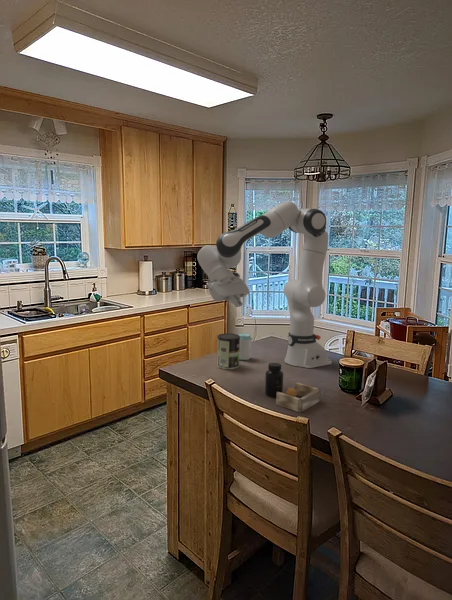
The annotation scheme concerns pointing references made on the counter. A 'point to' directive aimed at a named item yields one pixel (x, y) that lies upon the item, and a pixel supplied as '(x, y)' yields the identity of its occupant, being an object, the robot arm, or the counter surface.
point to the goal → (299, 404)
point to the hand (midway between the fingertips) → (239, 306)
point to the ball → (291, 392)
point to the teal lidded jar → (245, 346)
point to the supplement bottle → (273, 380)
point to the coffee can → (228, 351)
